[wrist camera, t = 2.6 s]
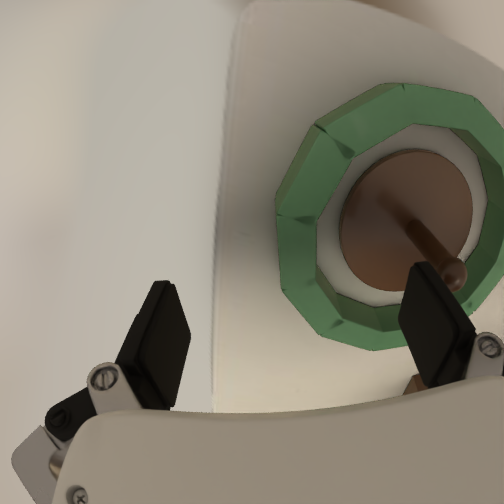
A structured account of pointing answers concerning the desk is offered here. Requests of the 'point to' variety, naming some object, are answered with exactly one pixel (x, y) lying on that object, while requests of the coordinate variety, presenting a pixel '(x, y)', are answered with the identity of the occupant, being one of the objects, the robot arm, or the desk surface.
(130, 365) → the robot arm
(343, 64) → the desk surface
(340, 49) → the desk surface
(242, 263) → the desk surface
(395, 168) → the peg stand
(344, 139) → the ring
